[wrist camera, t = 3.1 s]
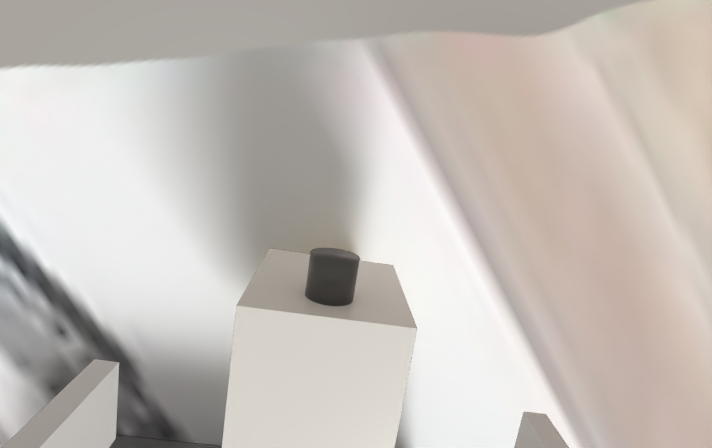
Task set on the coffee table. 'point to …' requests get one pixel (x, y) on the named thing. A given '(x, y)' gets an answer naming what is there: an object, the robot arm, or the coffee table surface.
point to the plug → (319, 354)
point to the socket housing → (153, 443)
